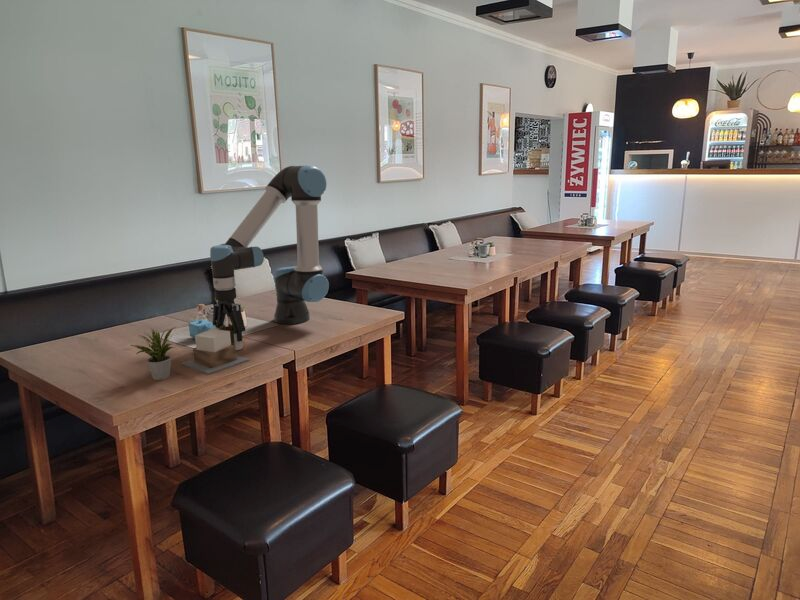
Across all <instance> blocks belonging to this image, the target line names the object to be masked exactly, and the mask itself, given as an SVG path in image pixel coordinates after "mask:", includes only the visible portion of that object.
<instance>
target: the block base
mask: <svg viewBox="0 0 800 600" xmlns="http://www.w3.org/2000/svg"><path fill="white" fill-rule="evenodd" d="M192 353H193V359H194V362H195V363H198V364H200V365H203V366H206V367H208V368H214V367H217V366H220V365H223V364H226V363H229V362H232V361H235V360H237V359H236V355H237V350H236V349H235V346H233V345H230V346H228V347H226V348H224V349H221V350H219V351H217V352H209V351H203V350H197V349H196V347H194V348H192Z"/></svg>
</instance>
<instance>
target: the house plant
mask: <svg viewBox="0 0 800 600" xmlns="http://www.w3.org/2000/svg"><path fill="white" fill-rule="evenodd" d="M176 328H177V326H176V327H172V328H170V329H166V330H164V331H163V332H162V334H160V332H159V331H158V330H154V329H153V327H151V328H150V329H151V330H150V331H151V333H152V336H151V335H150V334H148V333H146V332H143V334H145V335H146V336H148V337H149V338H150V339H149V338H148V337H146V336H144V335H140V334H136V336H137V337H138V338H140V339H143V340H144V341H143V340H142V342H143V343H145V344H146V345H148V347H147V346H143V345H138V344H131V345H130V346H131V347H134V348H136V349H138V352H136V353H135V355H137V354H139V353H140V354H141V353H145V354H147V355H148V356H150V357H149V358H148V359H146V361H147V365H148V367H149V370H150V374H151V377H152V379H153V380H155V381H159V380H161V381H162V380H167V379H168V378H169V377H171V366H172V365H171V362H172V361H171V360H172V357H171V355H167V352H169V350H171V349H175V350H176V348H175V347H173V346H171V345H174V343H168V342H169V341H170V339H171V338H172V336H170V335H171V333H172V331H173V330H174V329H176ZM165 332H166V333H165ZM164 334H165V336H164ZM140 339H137V338H136V340H137V341H140ZM162 339H163V342H162ZM145 341H146V342H145Z"/></svg>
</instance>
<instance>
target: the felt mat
mask: <svg viewBox="0 0 800 600" xmlns="http://www.w3.org/2000/svg"><path fill="white" fill-rule="evenodd" d="M236 359H237V360H235V361H232V362H229V363H226V364H223V365H220V366H217V367H214V368H208V367H206V366H203V365H200V364H198V363H195V362H194V358H193V359H190V360H187V361H183V362H181V365H182V366H184V367H187V368H189V369H192V370H195V371H198V372H200V373H203V374H205V375H207V376H209V375H212V374H215V373H218V372H221V371H224V370H226V369H229V368H232V367H235V366H238V365H242V364H244V363H247V362H249V361H250V359H249V358H246V357H243V356H240V355H237V354H236Z"/></svg>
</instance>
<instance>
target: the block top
mask: <svg viewBox="0 0 800 600" xmlns="http://www.w3.org/2000/svg"><path fill="white" fill-rule="evenodd" d="M194 341H195V348H196V349H197V350H203V351H209V352H217V351H219V350H221V349H224V348H226V347H228V346H230V345H231V338H230V331H224V330H217V328H216V329H215V328H213V329H210V330H208V331H205V332H203V333H200V334H197V335H195V339H194Z"/></svg>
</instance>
